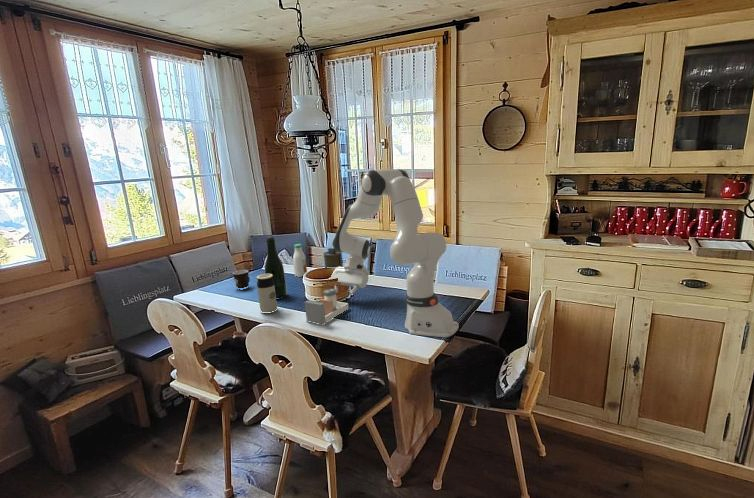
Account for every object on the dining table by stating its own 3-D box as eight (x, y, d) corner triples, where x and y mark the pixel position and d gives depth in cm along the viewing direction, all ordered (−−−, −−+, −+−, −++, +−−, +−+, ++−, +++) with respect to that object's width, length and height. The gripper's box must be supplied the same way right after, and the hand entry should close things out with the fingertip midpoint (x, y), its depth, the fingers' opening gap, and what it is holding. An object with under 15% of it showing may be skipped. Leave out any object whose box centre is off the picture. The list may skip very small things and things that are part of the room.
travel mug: (257, 311, 198) (252, 276, 193) (272, 306, 203) (267, 272, 199) (266, 315, 192) (261, 279, 188) (280, 310, 197) (276, 275, 193)
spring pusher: (334, 314, 185) (332, 300, 184) (332, 315, 184) (331, 301, 183) (322, 312, 189) (320, 298, 187) (320, 313, 188) (319, 299, 186)
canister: (322, 283, 235) (319, 250, 231) (332, 278, 244) (329, 245, 240) (338, 285, 230) (335, 251, 226) (347, 279, 239) (345, 246, 235)
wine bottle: (264, 297, 218) (256, 237, 210) (281, 292, 224) (274, 233, 217) (273, 301, 210) (265, 239, 202) (291, 296, 217) (284, 236, 209)
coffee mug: (234, 287, 237) (231, 271, 235) (249, 285, 241) (247, 268, 238) (236, 293, 227) (234, 276, 224) (252, 290, 230) (250, 273, 228)
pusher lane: (348, 309, 193) (347, 290, 191) (322, 325, 177) (320, 304, 175) (333, 306, 198) (331, 288, 196) (306, 322, 182) (304, 302, 179)
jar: (340, 310, 191) (338, 289, 188) (333, 315, 186) (331, 293, 183) (330, 309, 193) (328, 288, 191) (322, 313, 189) (320, 292, 186)
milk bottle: (300, 278, 248) (297, 246, 243) (292, 276, 253) (288, 245, 248) (309, 274, 254) (306, 243, 249) (301, 273, 259) (298, 242, 254)
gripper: (333, 263, 205) (322, 287, 200) (367, 266, 195) (357, 292, 189) (339, 269, 210) (329, 293, 204) (372, 273, 200) (363, 298, 194)
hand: (343, 292), depth 197 cm, fingers open, 8 cm apart
